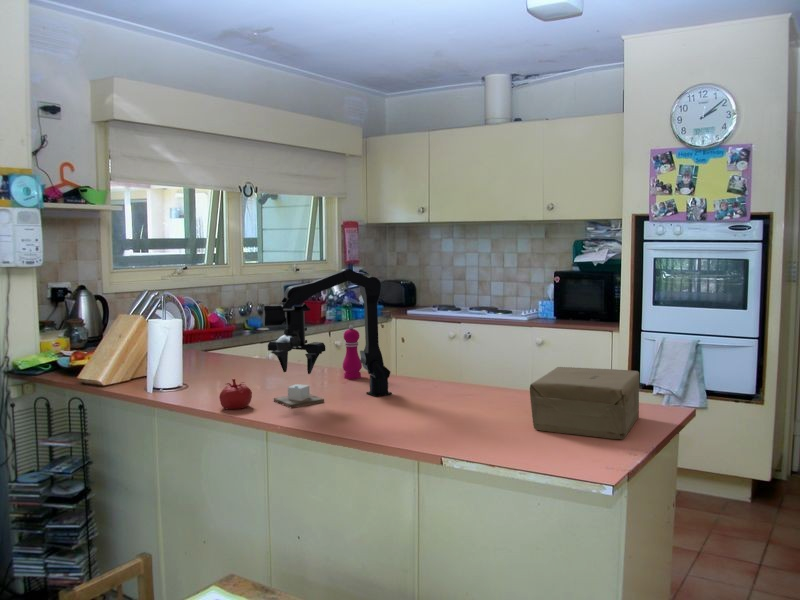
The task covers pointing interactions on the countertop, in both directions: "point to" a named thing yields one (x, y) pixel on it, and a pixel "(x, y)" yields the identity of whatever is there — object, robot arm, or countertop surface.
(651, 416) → the countertop surface
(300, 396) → the white cube
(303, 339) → the robot arm
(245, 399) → the red tomato
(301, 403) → the post stand
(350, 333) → the pepper mill
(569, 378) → the paper package
